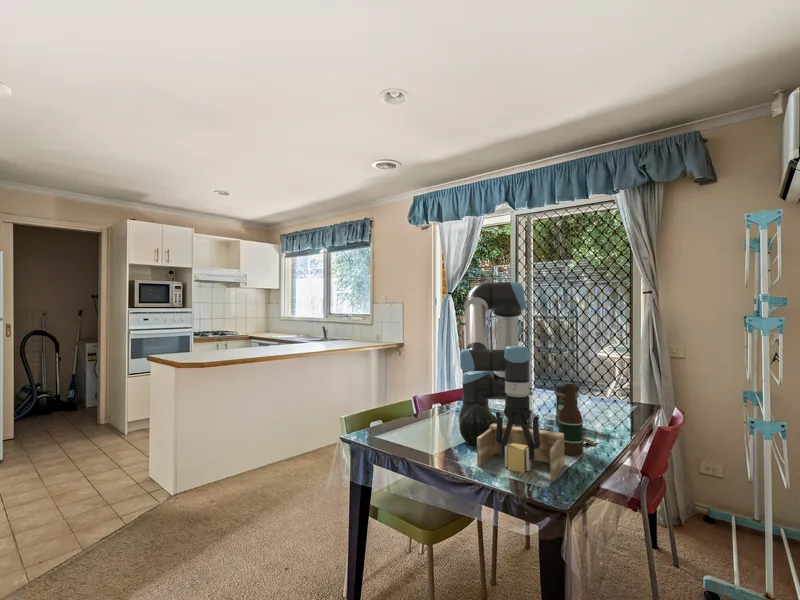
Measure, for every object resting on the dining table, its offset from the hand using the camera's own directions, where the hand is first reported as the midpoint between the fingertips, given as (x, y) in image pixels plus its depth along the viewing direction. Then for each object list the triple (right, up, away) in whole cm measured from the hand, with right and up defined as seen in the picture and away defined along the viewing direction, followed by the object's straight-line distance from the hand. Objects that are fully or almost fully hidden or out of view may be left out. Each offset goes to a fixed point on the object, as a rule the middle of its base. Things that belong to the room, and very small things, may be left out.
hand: (517, 467), depth 132 cm
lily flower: (+32, -2, +26) cm, 41 cm away
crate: (+2, 0, +3) cm, 4 cm away
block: (0, 0, 0) cm, 0 cm away
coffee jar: (+35, -2, +48) cm, 60 cm away
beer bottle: (+23, -1, +15) cm, 27 cm away
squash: (-7, -1, +26) cm, 27 cm away
